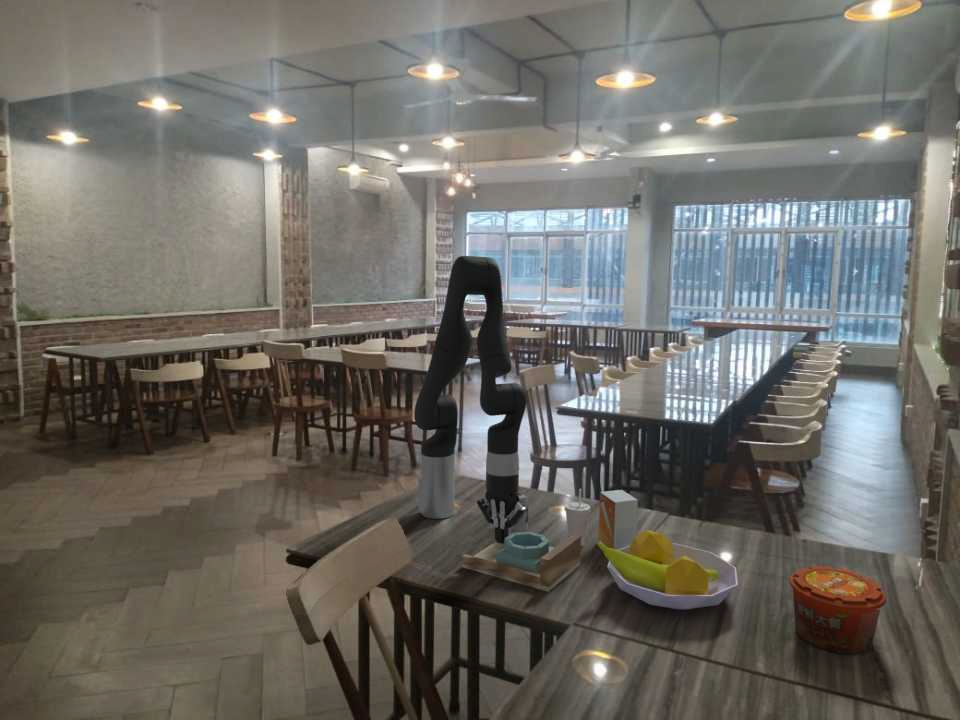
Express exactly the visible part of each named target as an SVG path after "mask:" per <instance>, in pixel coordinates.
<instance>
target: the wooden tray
mask: <svg viewBox="0 0 960 720" xmlns="http://www.w3.org/2000/svg"><path fill="white" fill-rule="evenodd" d="M549 547H553V548H554V549H552V550H551V551H550V552H548V553H547V554H546V555H544V556H543V557H542V558H541V566H540V572H539V573H538V574H536V573H533V572H529V571H525V570H522V569H518V568H514V567H511V566H507V565H503V564H500V563H496V553H497V552H499V551H500V550H502V549H503V548H504V543H503V544H501V543H497V542H496V541H495V542H493V543H492V544H490V545H489V546H487V547H486V548H483V549H482V550H481V551H479V552H477V553H476V554H474V555H470V554H467V553H464V554H462V556H461V567H462V568H464V569H467V570H471V571H475V572H478V573H481V574H485V575H487V576H492V577H494V578H495V577H496V578H499V579H503V580H505V581H509V582H512V583H517V584H520V585H523V586H527V587H530V588H535V589H537V590H540V591H544V592H547V593H549V592H550V591H551V590H552V589H554V588H555V587H556V586H557V585H558V584H560V583H561V582H562V581H563V580H565V578H567V577H568V576H569V575H570V574H571V573H572V572H573V571H575V570H576V569H578V567H580V566H581V552H582V551H581V548H582V546H581V536H579V535H575V534H572V535H571V536H570V537H568V536H567V538H565V539H564V540H563V541H561V542H560V543H559V544H558V545H556V546H555V547H554V546H550V545H549Z"/></svg>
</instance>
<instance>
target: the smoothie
mask: <svg viewBox="0 0 960 720" xmlns="http://www.w3.org/2000/svg"><path fill="white" fill-rule="evenodd" d="M563 509H564V512H565V516H566V525H567V535H568V536H567V538H568V537H570V536H571V535H572V534H575V535H579V536H581V547H583V546H584V545H585V542H586V541H585V540H586V533H587V527H588V521H589V515H590V513H591V506H590V505H589V504H588V503H585V502H582V488H579V489H578V501H572V502H566V504H565V505H564V508H563Z"/></svg>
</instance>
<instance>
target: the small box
mask: <svg viewBox="0 0 960 720" xmlns="http://www.w3.org/2000/svg"><path fill="white" fill-rule="evenodd" d="M638 503H639V500H638V499H637V498H636V497H634V496H632V495H631V494H629V493H628V492H626V491H624V490H623V489H615V490H606V491H600V492H599V513H598V516H599V518H598V540H597V541H598V542H602V543H603V544H604V545H605V546H606V547H609V548H612V549H615V550H619V549H622V548H625V547H628V546H630V545H631V543H632V541H633V539H634V537H635V536H637V535H638V534H637V530H638V508H639V507H638V505H639V504H638Z"/></svg>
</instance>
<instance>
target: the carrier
mask: <svg viewBox="0 0 960 720" xmlns="http://www.w3.org/2000/svg"><path fill="white" fill-rule="evenodd" d="M549 546H550V541H549V540H548V538H547V537H546V536H545V535H544V534H539V533H536V532H531V531H528V532H520V533H512V534H511V535H509V536H508V537H506V538H505V539H504V548H503V549H502V550H500V551H499V552H497V553H496V563H500V564H503V565H507V566H511V567H514V568H518V569H522V570H525V571H529V572H533V573H536V574H538V573H539V572H540V566H541V558H542V557H543V556H544V555H546V554H547V553H548V552H550V551H551V550H552V549H554V548H553V547H554V546H551V547H549Z"/></svg>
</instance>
